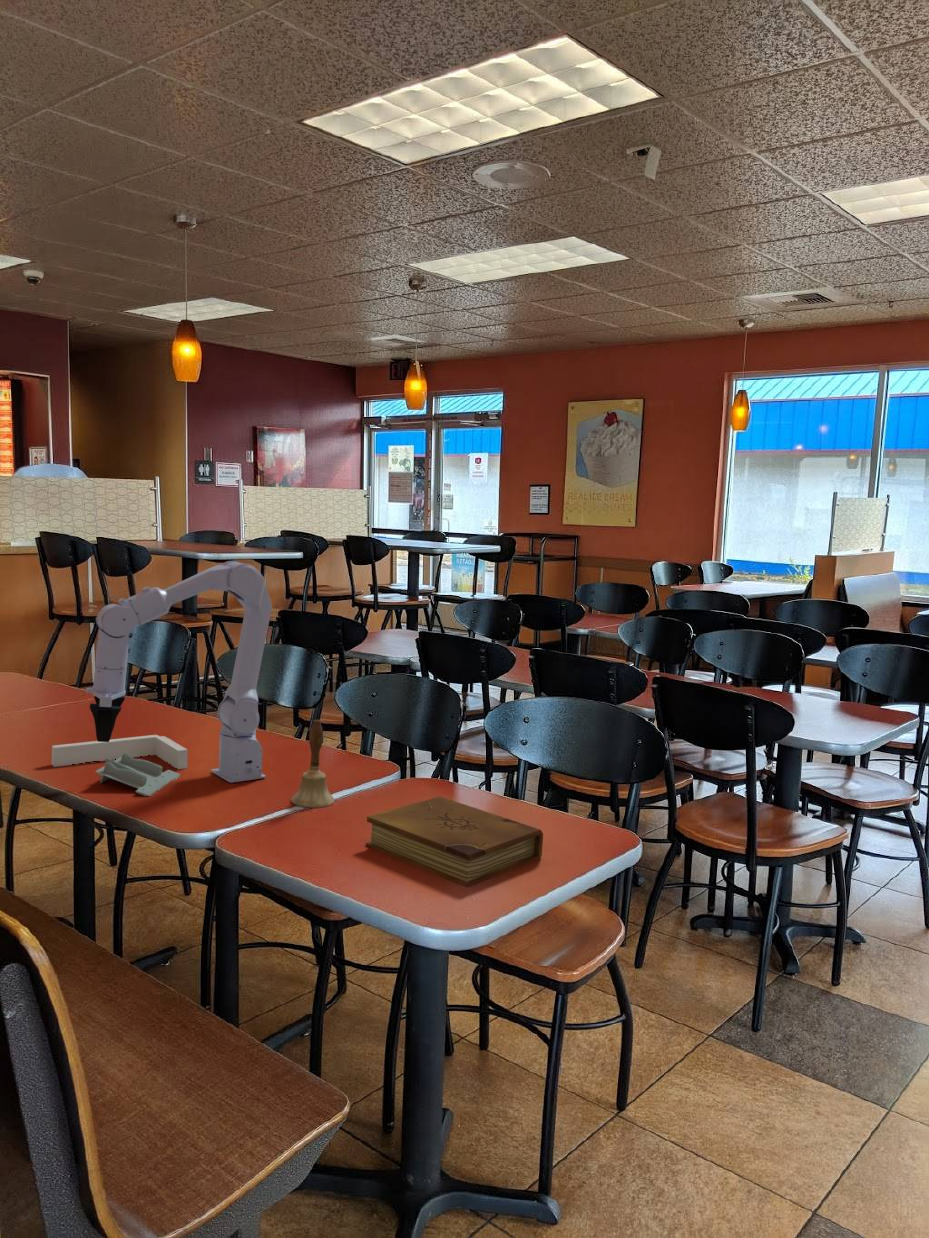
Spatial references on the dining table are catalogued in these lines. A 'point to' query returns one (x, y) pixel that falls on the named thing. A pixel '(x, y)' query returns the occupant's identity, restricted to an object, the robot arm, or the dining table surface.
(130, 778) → the metal bracket
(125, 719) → the dining table surface
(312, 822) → the dining table surface
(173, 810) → the dining table surface
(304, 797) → the hand bell
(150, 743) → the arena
